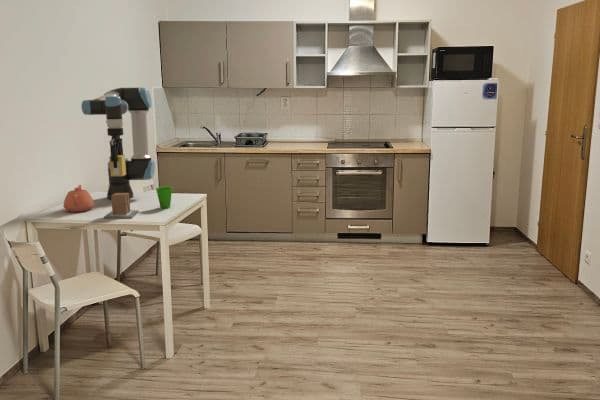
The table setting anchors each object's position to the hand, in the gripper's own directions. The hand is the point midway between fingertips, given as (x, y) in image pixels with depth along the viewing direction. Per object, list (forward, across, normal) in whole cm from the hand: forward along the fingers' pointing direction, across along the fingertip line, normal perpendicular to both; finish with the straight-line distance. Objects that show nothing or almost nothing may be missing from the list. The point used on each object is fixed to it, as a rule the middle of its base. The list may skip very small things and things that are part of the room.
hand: (118, 173), depth 279 cm
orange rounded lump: (+22, -15, -27) cm, 38 cm away
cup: (+22, -17, +19) cm, 34 cm away
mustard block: (+1, 0, 0) cm, 1 cm away
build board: (+22, 0, 0) cm, 22 cm away
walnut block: (+21, 0, 0) cm, 21 cm away
